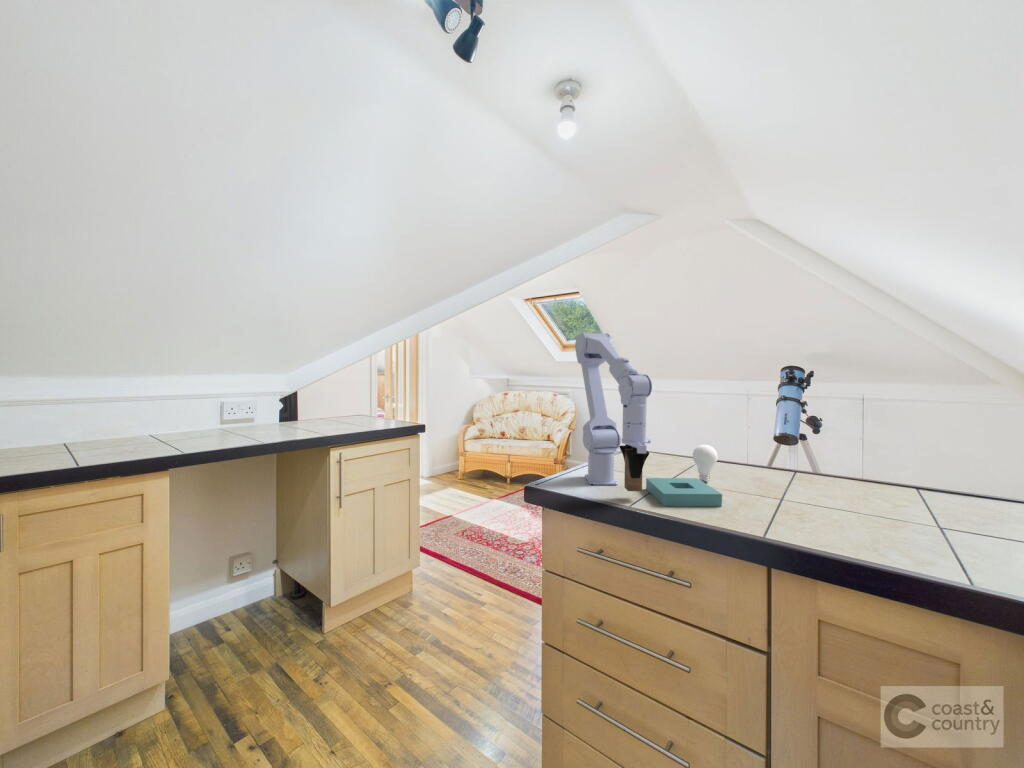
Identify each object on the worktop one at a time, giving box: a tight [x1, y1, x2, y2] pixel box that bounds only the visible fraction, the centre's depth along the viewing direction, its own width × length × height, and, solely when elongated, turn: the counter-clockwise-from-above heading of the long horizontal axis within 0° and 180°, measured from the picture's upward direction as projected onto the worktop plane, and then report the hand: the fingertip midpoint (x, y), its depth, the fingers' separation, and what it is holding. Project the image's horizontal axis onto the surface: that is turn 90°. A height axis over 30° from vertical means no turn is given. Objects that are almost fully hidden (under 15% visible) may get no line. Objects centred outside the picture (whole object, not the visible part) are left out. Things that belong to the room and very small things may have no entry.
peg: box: [624, 449, 643, 492], centre depth 107 cm, size 4×4×10 cm
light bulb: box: [692, 444, 719, 483], centre depth 122 cm, size 7×7×11 cm
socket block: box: [645, 477, 723, 507], centre depth 109 cm, size 14×14×3 cm
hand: (633, 475), depth 107 cm, fingers closed on peg, 3 cm apart
